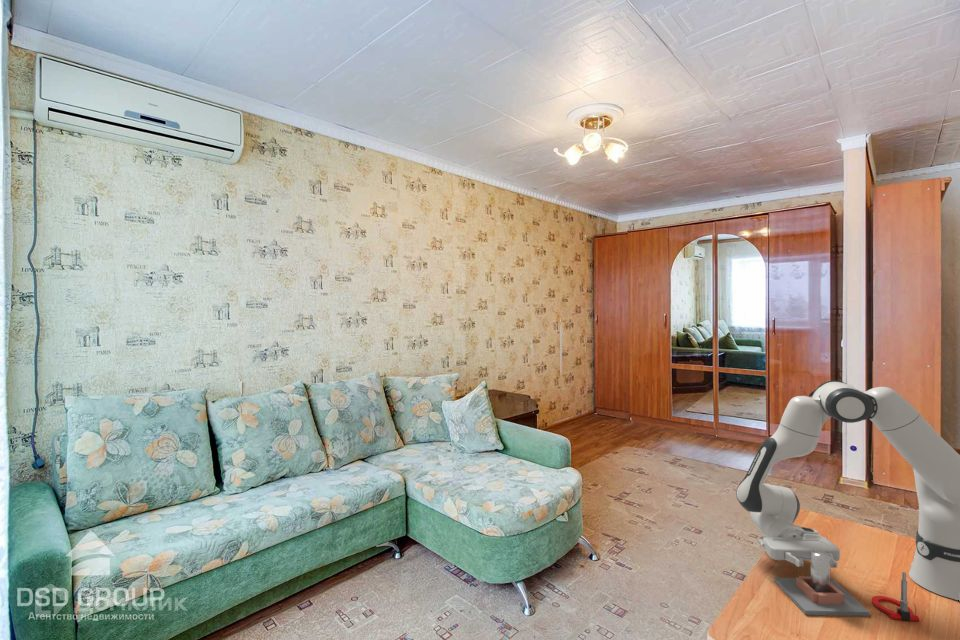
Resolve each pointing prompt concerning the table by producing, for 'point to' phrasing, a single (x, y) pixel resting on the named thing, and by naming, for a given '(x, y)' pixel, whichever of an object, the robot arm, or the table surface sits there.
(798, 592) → the keeper
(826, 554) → the brushed steel cylinder
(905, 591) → the tow hook
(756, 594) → the table surface
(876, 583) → the table surface
